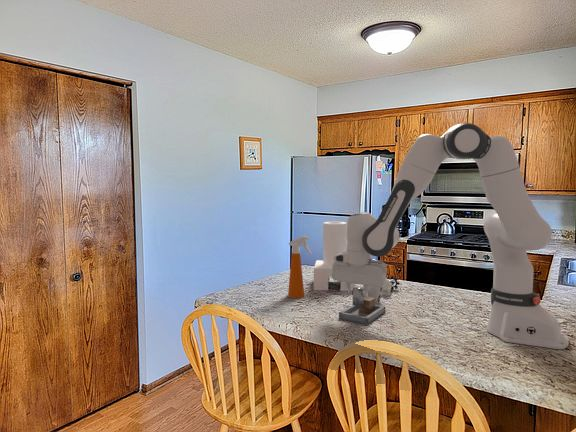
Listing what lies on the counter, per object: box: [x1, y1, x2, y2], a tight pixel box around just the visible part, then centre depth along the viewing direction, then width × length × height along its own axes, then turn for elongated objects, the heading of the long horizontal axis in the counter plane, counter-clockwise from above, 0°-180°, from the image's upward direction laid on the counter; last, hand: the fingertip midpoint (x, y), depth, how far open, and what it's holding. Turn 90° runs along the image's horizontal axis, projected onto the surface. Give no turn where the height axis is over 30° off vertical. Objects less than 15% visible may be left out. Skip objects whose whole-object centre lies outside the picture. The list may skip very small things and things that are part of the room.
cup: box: [362, 285, 383, 305], centre depth 161 cm, size 8×8×10 cm
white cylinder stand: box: [313, 221, 356, 292], centre depth 187 cm, size 19×19×30 cm
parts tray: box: [338, 304, 386, 326], centre depth 145 cm, size 11×16×2 cm
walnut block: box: [359, 297, 376, 314], centre depth 148 cm, size 4×4×5 cm
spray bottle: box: [287, 235, 313, 299], centre depth 169 cm, size 7×11×26 cm, turn 71°
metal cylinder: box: [352, 286, 364, 306], centre depth 142 cm, size 4×4×6 cm
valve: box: [381, 275, 401, 297], centre depth 175 cm, size 7×7×12 cm
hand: (358, 295), depth 142 cm, fingers closed on metal cylinder, 4 cm apart
